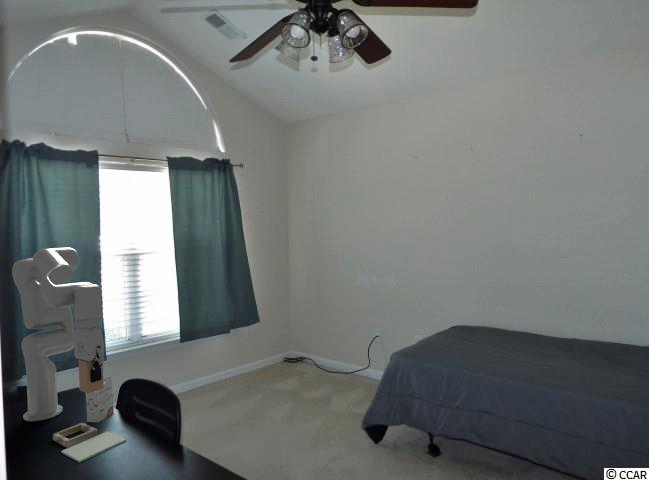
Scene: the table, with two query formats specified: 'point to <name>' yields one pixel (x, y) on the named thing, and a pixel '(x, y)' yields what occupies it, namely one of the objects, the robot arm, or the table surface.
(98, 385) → the terracotta block
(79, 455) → the sage pad
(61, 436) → the pocket frame
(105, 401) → the ink cartridge box
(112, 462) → the table surface
